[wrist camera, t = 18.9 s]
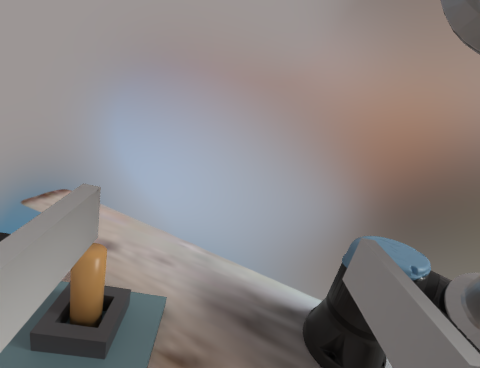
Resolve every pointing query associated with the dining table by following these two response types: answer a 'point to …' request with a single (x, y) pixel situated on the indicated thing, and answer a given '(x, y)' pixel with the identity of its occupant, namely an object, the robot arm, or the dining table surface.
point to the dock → (120, 351)
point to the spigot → (88, 287)
